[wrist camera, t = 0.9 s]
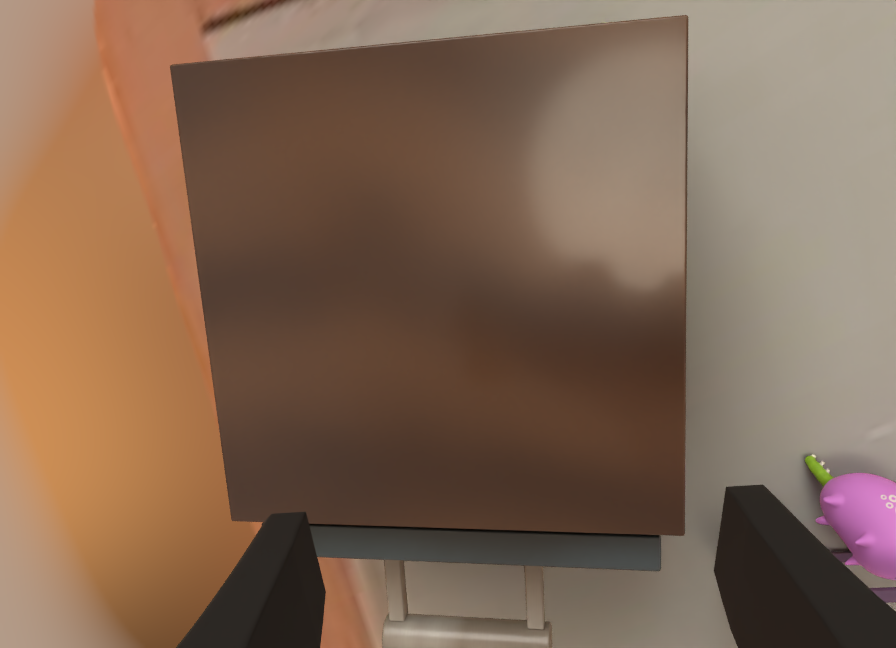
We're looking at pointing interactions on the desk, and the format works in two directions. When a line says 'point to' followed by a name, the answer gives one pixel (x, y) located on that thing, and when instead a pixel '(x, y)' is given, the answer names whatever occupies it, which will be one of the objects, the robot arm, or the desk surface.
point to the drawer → (469, 638)
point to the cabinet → (448, 277)
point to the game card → (861, 520)
